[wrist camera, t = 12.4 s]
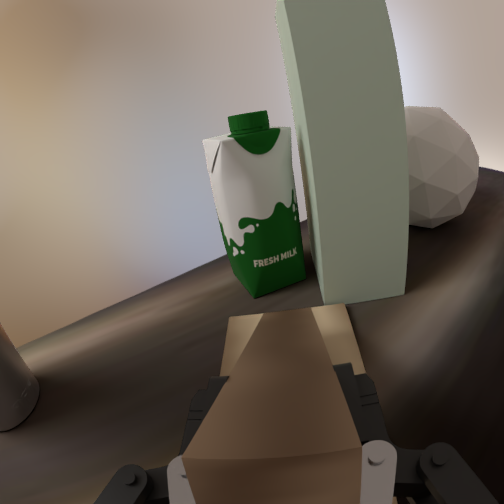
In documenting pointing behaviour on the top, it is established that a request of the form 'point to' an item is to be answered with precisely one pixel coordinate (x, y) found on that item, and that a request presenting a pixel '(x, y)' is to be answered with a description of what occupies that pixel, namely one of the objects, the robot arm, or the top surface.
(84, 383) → the top surface
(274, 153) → the milk carton
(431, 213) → the ball
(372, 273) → the sage stand
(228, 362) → the beige flat board
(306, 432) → the walnut bar
